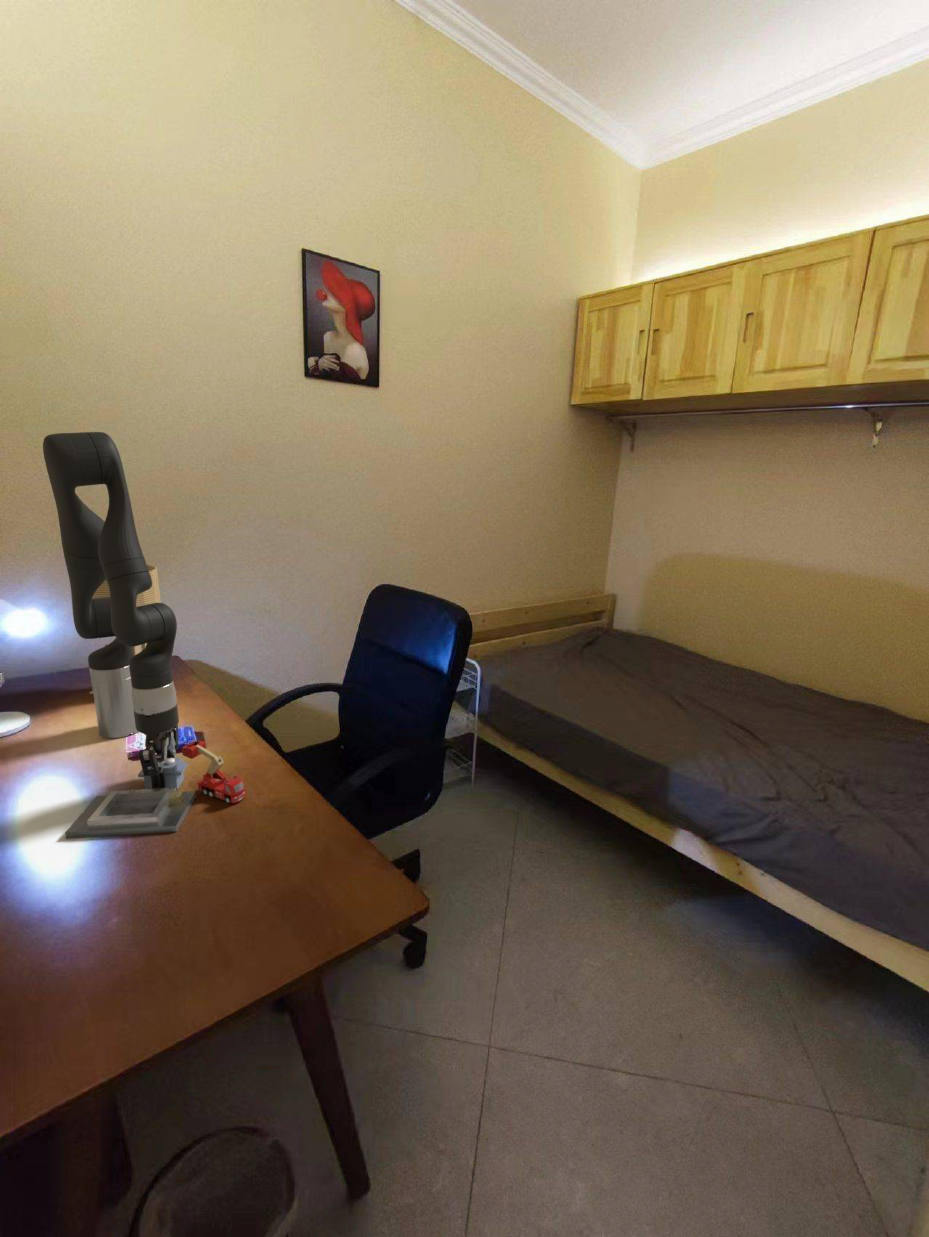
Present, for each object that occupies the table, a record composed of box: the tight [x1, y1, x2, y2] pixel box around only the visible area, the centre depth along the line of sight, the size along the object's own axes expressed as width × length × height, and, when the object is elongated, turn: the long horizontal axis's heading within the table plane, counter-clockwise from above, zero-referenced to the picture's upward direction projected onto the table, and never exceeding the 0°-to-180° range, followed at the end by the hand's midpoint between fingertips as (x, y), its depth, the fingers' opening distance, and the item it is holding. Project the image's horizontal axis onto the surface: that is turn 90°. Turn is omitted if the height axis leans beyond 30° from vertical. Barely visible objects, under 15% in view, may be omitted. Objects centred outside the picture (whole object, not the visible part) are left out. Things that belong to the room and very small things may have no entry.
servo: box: [137, 757, 189, 790], centre depth 110 cm, size 4×8×6 cm, turn 99°
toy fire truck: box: [181, 740, 246, 804], centre depth 108 cm, size 3×14×10 cm, turn 65°
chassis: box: [64, 788, 197, 840], centre depth 100 cm, size 11×18×3 cm, turn 99°
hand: (164, 780), depth 111 cm, fingers open, 5 cm apart
